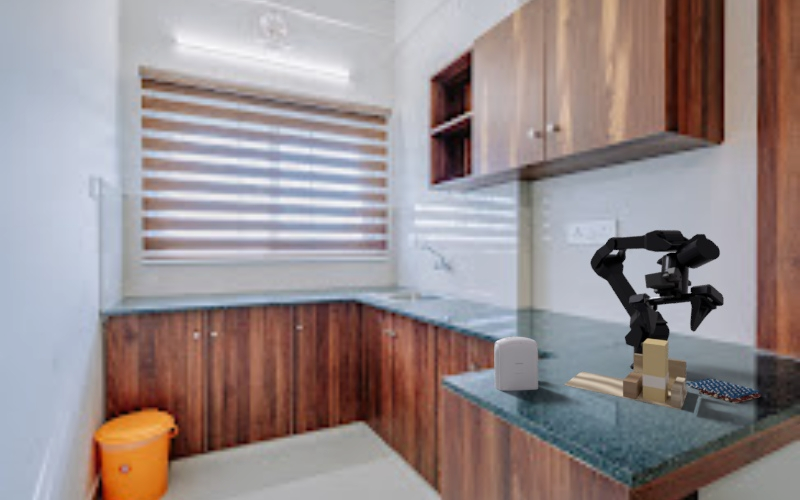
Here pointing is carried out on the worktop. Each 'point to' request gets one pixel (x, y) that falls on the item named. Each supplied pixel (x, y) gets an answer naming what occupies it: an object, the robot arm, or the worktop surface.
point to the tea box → (655, 370)
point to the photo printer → (516, 364)
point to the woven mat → (724, 390)
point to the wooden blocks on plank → (636, 383)
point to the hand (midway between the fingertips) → (671, 332)
